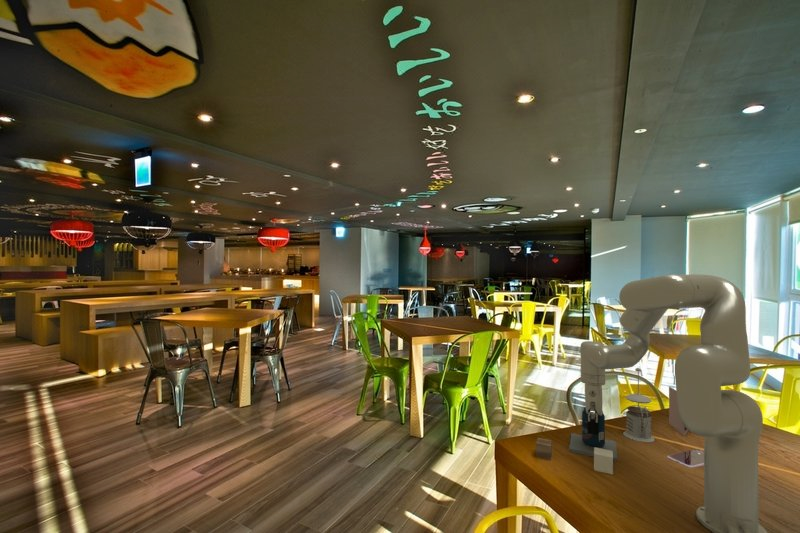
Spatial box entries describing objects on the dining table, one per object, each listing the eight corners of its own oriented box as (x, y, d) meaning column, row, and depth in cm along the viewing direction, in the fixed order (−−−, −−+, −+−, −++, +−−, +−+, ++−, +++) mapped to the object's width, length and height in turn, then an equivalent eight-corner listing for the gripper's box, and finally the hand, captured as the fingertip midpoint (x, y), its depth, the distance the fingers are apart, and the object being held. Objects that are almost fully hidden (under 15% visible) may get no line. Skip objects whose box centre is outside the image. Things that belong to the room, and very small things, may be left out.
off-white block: (613, 474, 110) (612, 457, 110) (593, 470, 113) (593, 453, 113) (612, 467, 115) (612, 450, 115) (594, 463, 117) (594, 447, 117)
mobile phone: (665, 454, 122) (696, 448, 127) (665, 457, 122) (696, 451, 127) (690, 466, 115) (722, 458, 120) (690, 469, 115) (722, 461, 120)
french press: (648, 432, 141) (648, 365, 141) (661, 446, 130) (660, 373, 130) (619, 429, 143) (619, 363, 144) (629, 442, 132) (629, 371, 133)
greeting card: (686, 436, 137) (686, 395, 138) (662, 430, 143) (662, 390, 143) (693, 428, 145) (693, 389, 145) (670, 422, 151) (670, 385, 151)
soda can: (577, 441, 130) (577, 406, 130) (593, 439, 132) (593, 405, 132) (593, 450, 123) (593, 414, 123) (609, 448, 125) (609, 412, 125)
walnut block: (550, 460, 119) (550, 446, 119) (535, 457, 121) (535, 443, 121) (552, 454, 123) (552, 440, 123) (537, 451, 125) (537, 437, 125)
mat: (617, 461, 118) (617, 458, 118) (569, 451, 125) (568, 448, 125) (615, 444, 130) (615, 441, 130) (571, 435, 137) (571, 433, 137)
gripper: (605, 386, 119) (606, 440, 118) (604, 374, 134) (605, 422, 133) (579, 382, 122) (579, 435, 122) (581, 371, 137) (581, 418, 137)
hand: (593, 428), depth 128 cm, fingers open, 9 cm apart
